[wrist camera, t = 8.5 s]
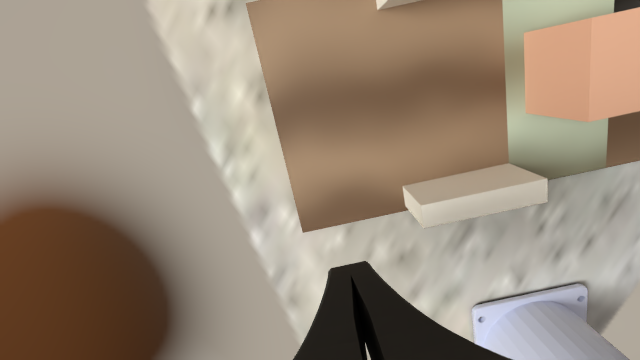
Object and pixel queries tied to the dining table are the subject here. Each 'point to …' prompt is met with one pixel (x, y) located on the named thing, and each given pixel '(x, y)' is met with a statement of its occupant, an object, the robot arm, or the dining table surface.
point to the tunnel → (471, 187)
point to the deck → (416, 98)
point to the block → (584, 68)
